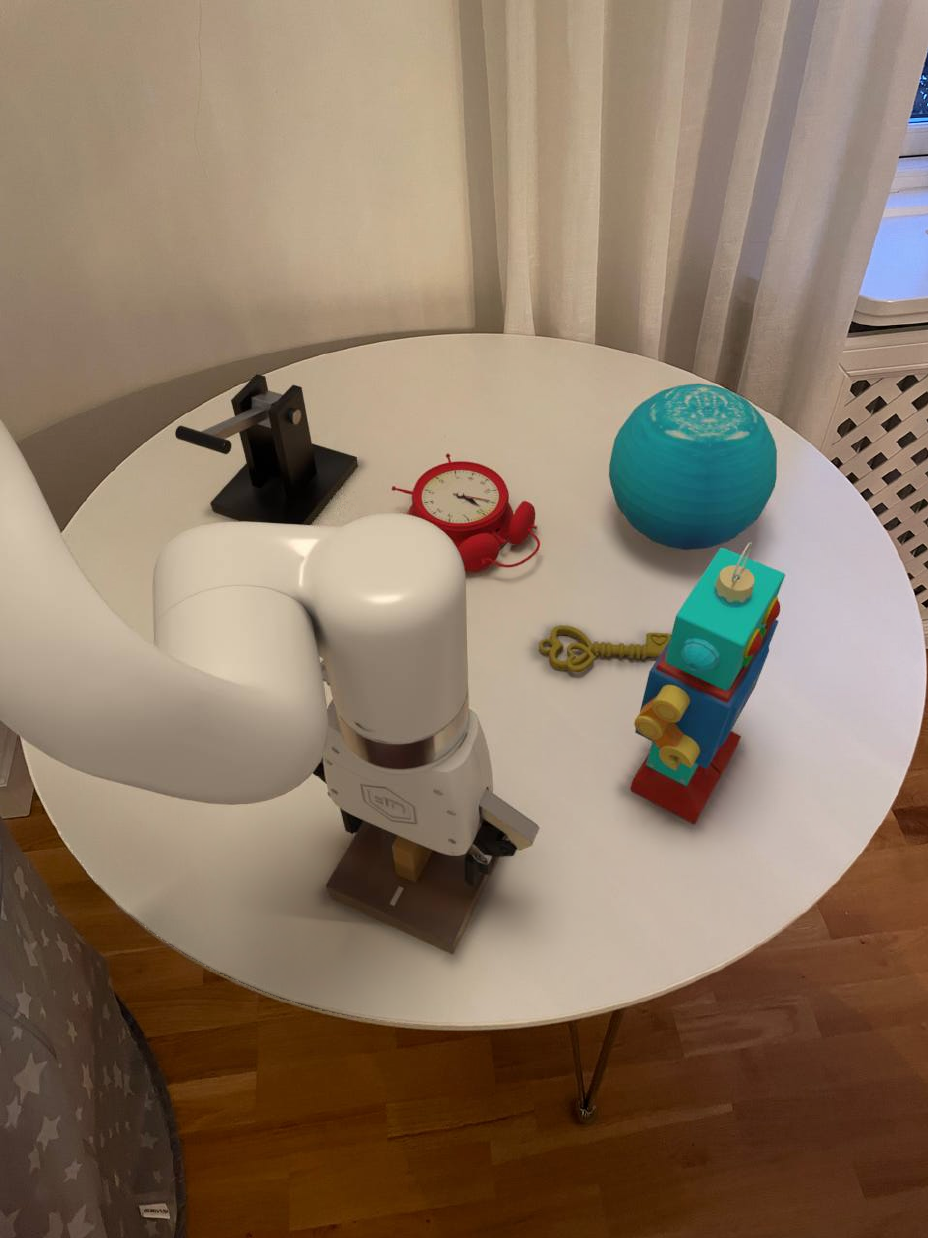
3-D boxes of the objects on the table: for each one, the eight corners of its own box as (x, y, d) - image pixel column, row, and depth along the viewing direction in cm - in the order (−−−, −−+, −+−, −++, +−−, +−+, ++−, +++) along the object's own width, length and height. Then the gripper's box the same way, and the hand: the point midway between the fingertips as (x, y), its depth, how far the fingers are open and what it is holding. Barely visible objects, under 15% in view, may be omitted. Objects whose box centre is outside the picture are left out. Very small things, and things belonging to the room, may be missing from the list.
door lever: (223, 462, 79) (223, 436, 78) (175, 447, 81) (174, 420, 79) (300, 423, 89) (301, 399, 88) (255, 410, 90) (256, 386, 89)
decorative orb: (603, 580, 87) (622, 456, 75) (598, 472, 96) (614, 347, 85) (767, 586, 86) (811, 461, 74) (745, 476, 96) (782, 351, 84)
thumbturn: (415, 883, 66) (411, 854, 62) (395, 874, 66) (390, 844, 63) (443, 831, 69) (440, 800, 65) (423, 823, 69) (420, 792, 65)
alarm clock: (455, 439, 94) (563, 486, 85) (465, 491, 98) (569, 541, 89) (375, 488, 90) (479, 543, 80) (389, 540, 94) (490, 598, 84)
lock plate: (453, 955, 65) (452, 943, 63) (328, 897, 68) (324, 884, 66) (509, 834, 71) (510, 821, 69) (393, 786, 73) (391, 772, 72)
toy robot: (685, 842, 70) (763, 635, 51) (612, 803, 72) (661, 590, 53) (744, 732, 76) (834, 510, 57) (676, 699, 78) (740, 474, 59)
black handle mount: (297, 540, 91) (277, 446, 82) (212, 511, 93) (183, 416, 84) (358, 465, 97) (345, 370, 88) (276, 440, 100) (256, 345, 91)
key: (676, 628, 81) (679, 675, 78) (674, 637, 82) (677, 684, 79) (540, 621, 82) (537, 667, 79) (539, 630, 83) (537, 675, 80)
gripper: (237, 701, 53) (286, 839, 66) (517, 816, 48) (510, 939, 62) (305, 609, 57) (339, 756, 71) (569, 706, 53) (552, 844, 66)
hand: (418, 841), depth 66 cm, fingers open, 9 cm apart
